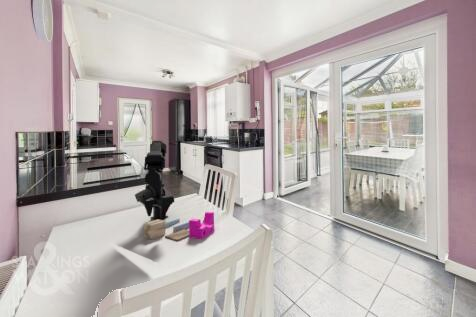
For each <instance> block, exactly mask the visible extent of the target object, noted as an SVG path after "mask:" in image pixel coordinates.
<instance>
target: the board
mask: <svg viewBox="0 0 476 317" xmlns="http://www.w3.org/2000/svg"><path fill="white" fill-rule="evenodd" d="M164 237H165V238H167V239H170V240H173V241H175V242H179V241H182V240H184V239H186V238H189V229H186V228H185V229H182V230H179V231H176V232H172V233H169V234H165V235H164Z"/></svg>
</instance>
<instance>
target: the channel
mask: <svg viewBox="0 0 476 317" xmlns="http://www.w3.org/2000/svg"><path fill="white" fill-rule="evenodd" d="M180 221H181V218H174V219H171V220H169V221H168V220H167V221H165V229H166V228H168V227H171V226H172V227H173V228H172V231H173V232H172V233H174V232H176V231H179V230H182V229H185V230H186V229H187V228H188V229H189V220H187V221H185V222H182V223H180ZM177 223H179V224H177ZM175 224H177V225H175ZM173 225H174V226H173Z"/></svg>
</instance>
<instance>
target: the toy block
mask: <svg viewBox="0 0 476 317" xmlns="http://www.w3.org/2000/svg"><path fill="white" fill-rule="evenodd" d="M202 220H203V221H202V222H201V219H199V218H191V219H189V220H188V221H189V227H188V230H189V236H188V238H192V239H199V240H203V239H205V238H206V237H208V236H210V234H212V233H213V232H215V212H214V211H205V212H204V218H203V219H202Z"/></svg>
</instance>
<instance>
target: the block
mask: <svg viewBox="0 0 476 317" xmlns="http://www.w3.org/2000/svg"><path fill="white" fill-rule="evenodd" d="M165 222H166V220H164V219H157V220H156V219H153V220H152V221H148V222H144V223H143V225H144V227H143V233H144V238H146V239H149V240H153V239H156V238H159V237H162V236H166V228H165Z"/></svg>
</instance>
